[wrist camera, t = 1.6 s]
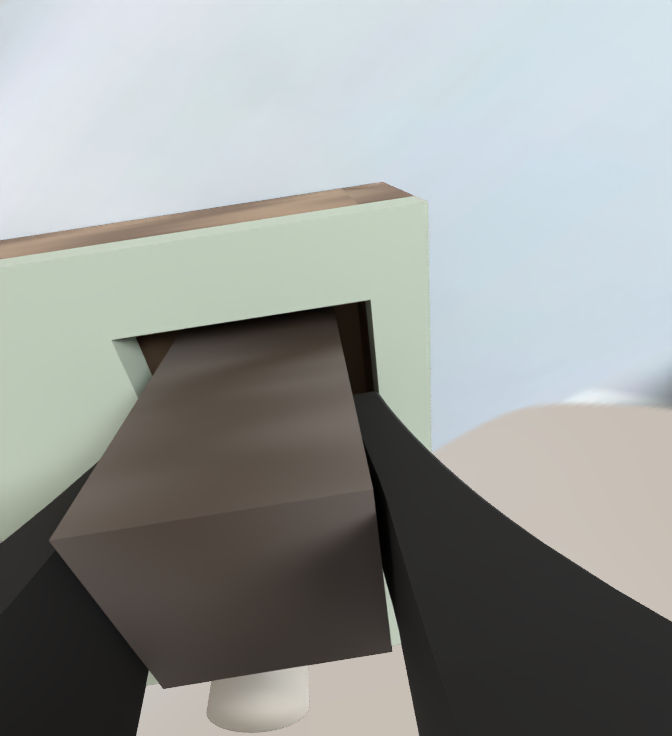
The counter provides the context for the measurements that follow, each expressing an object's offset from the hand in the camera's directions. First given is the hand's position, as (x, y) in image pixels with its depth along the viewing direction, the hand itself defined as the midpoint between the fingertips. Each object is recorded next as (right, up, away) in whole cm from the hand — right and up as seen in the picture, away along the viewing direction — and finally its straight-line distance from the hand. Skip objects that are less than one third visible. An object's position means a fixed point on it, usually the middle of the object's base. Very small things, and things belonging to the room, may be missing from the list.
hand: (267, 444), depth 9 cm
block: (0, +2, +4) cm, 4 cm away
